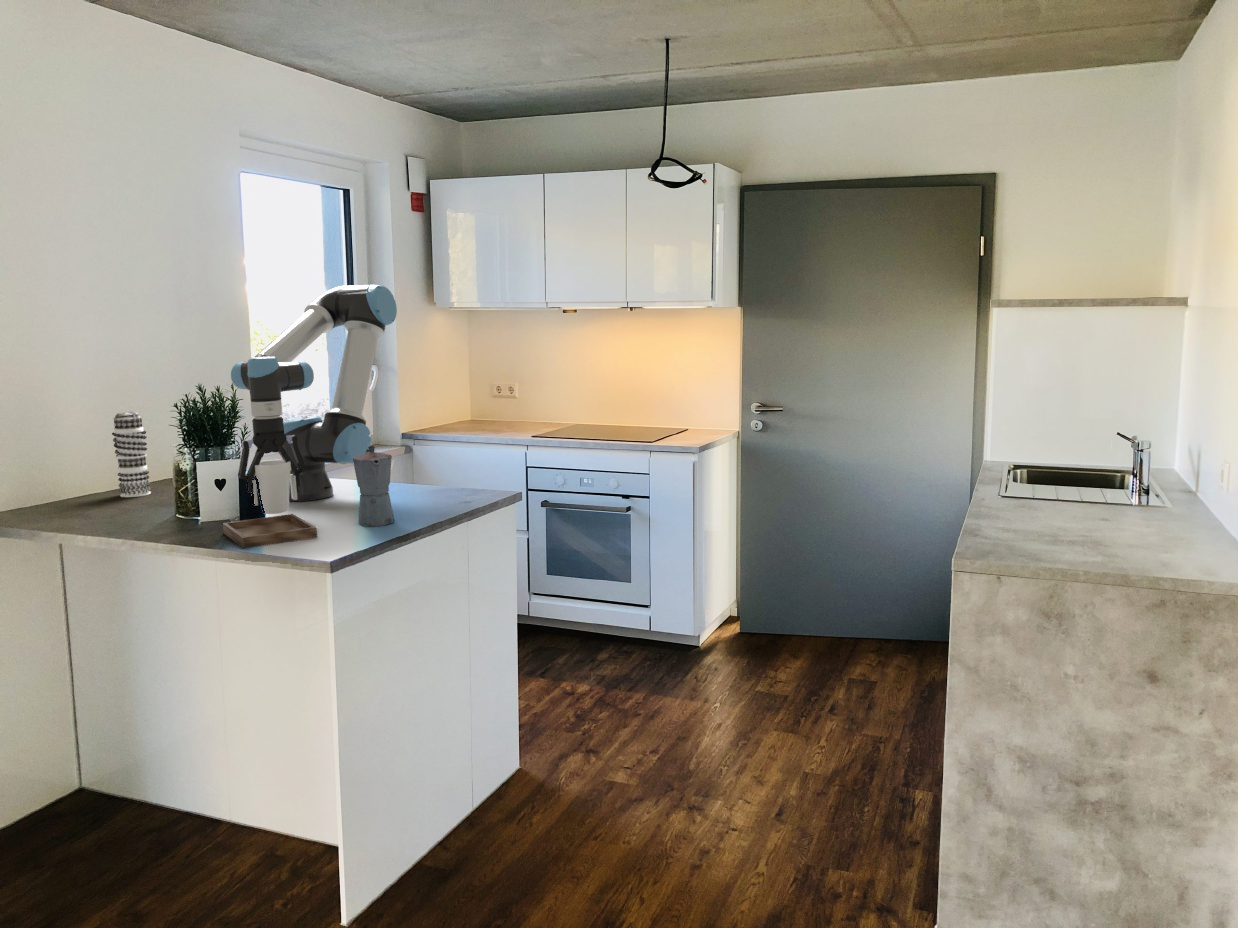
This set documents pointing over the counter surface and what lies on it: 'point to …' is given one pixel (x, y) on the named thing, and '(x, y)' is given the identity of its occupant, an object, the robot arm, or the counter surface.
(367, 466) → the moka pot
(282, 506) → the foam cup
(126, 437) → the decorative candle
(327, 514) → the counter surface
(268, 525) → the walnut tray
